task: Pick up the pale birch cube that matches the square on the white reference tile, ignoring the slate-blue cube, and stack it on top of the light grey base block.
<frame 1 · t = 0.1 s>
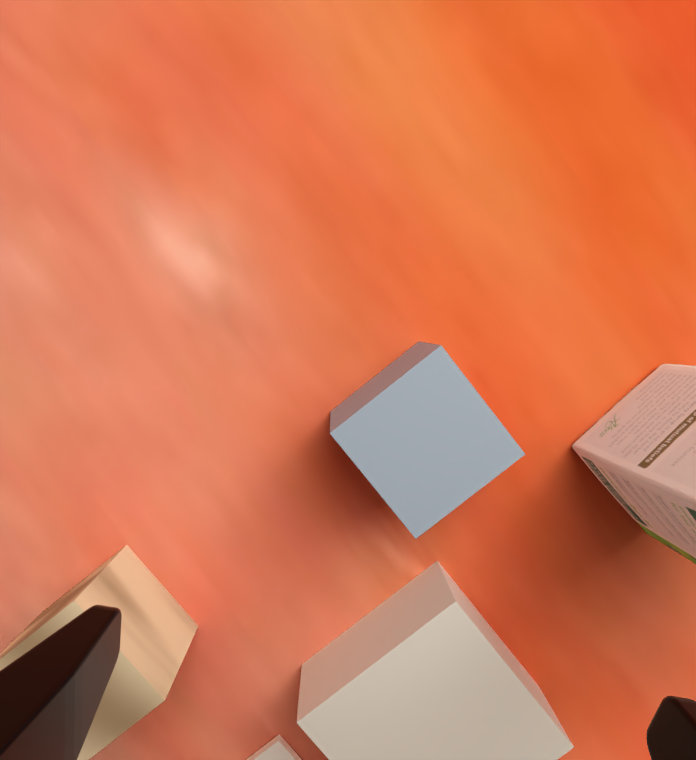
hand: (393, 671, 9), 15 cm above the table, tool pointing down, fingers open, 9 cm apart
base block: (420, 671, 25), on the table
slate-blue cube: (408, 419, 24), on the table
syrup box: (651, 445, 25), on the table
birch cube: (121, 617, 25), on the table
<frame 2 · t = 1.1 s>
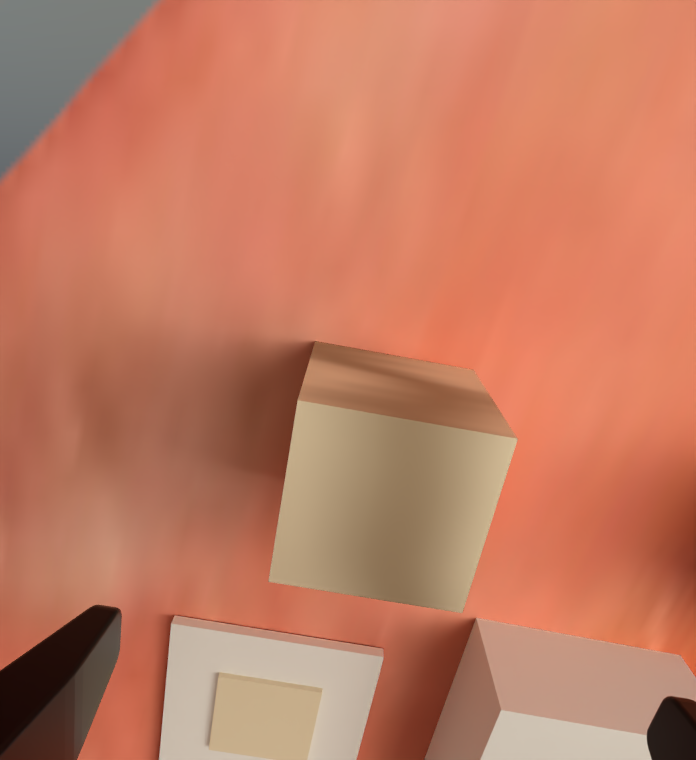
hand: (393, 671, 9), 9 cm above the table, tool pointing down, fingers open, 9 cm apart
base block: (542, 706, 22), on the table
birch cube: (378, 426, 17), on the table
reference tile: (266, 708, 22), on the table
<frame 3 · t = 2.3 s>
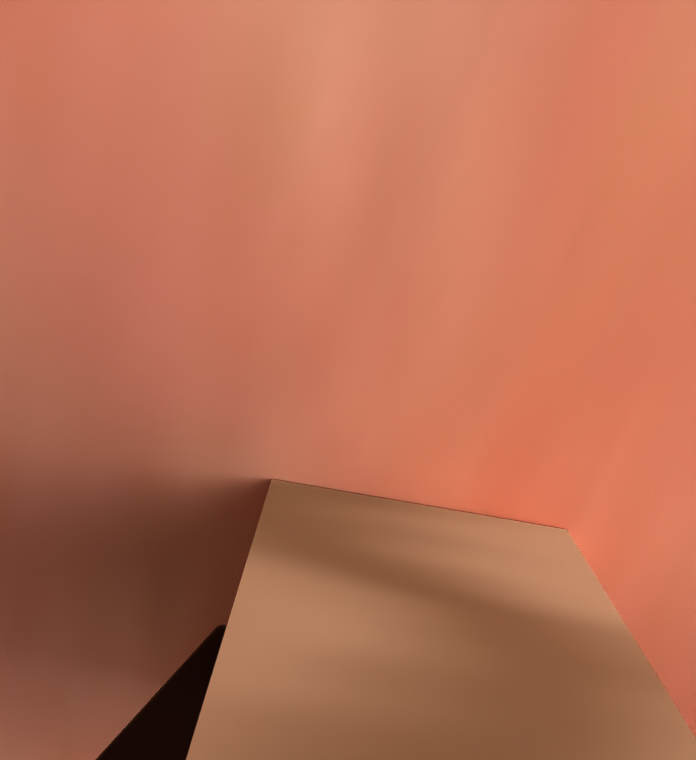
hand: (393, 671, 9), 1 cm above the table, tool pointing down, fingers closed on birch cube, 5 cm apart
birch cube: (389, 621, 10), on the table, touching gripper
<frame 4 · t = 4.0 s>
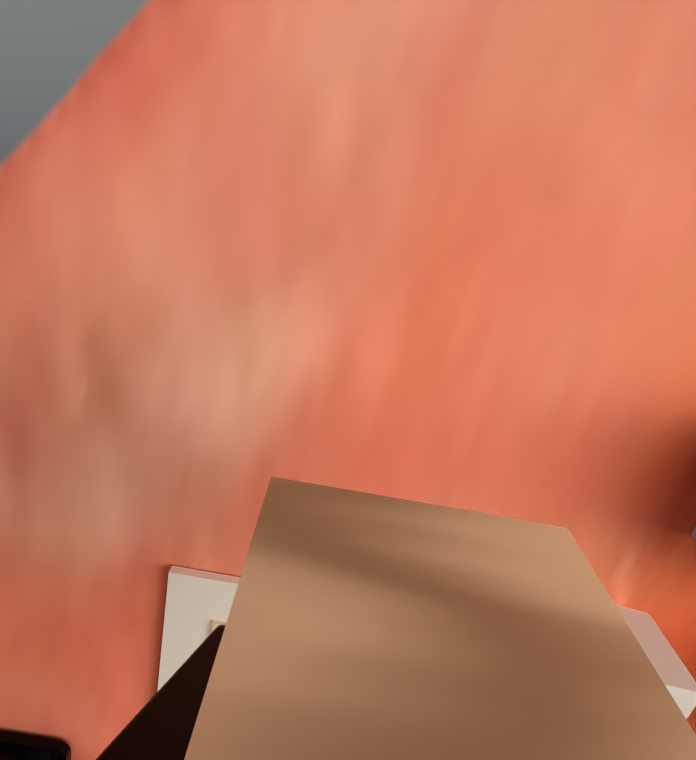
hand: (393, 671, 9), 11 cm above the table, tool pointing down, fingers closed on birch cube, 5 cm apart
base block: (517, 657, 23), on the table
birch cube: (389, 620, 10), point 10 cm above the table, touching gripper
reference tile: (257, 656, 23), on the table
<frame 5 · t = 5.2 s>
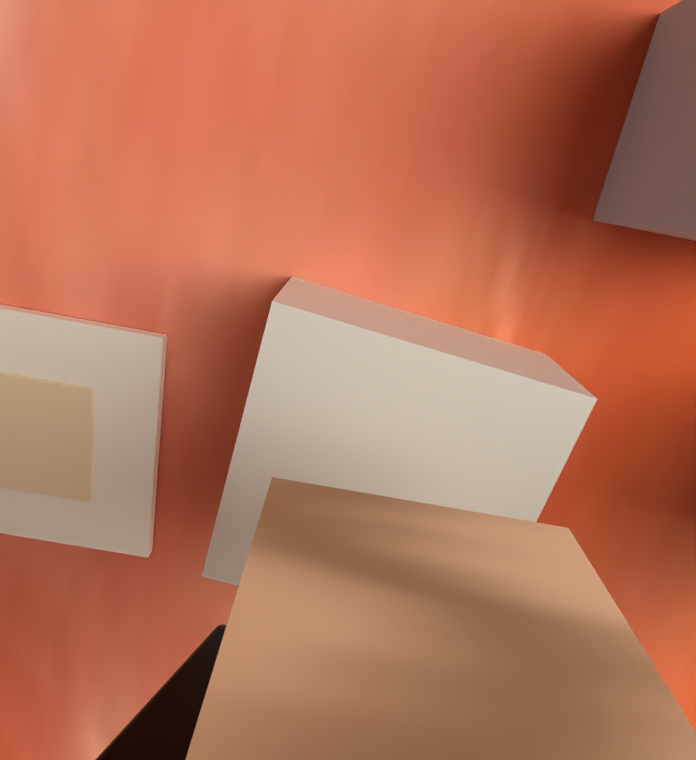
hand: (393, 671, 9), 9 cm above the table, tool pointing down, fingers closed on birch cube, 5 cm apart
base block: (379, 428, 17), on the table
birch cube: (390, 620, 10), point 8 cm above the table, touching gripper
reference tile: (37, 429, 17), on the table
when the fingers open (6 cm above the table, at t = 6.0 s): birch cube drops 1 cm, point 4 cm above the table.
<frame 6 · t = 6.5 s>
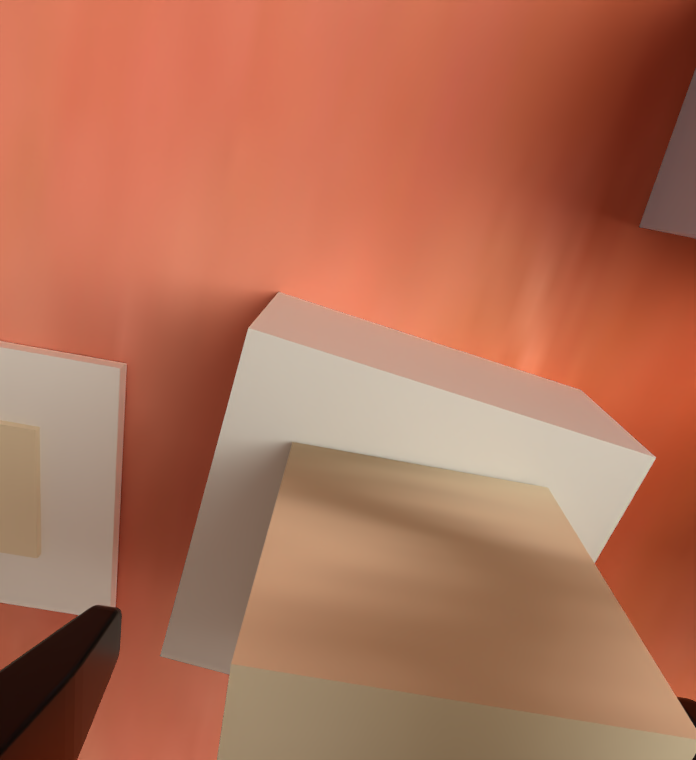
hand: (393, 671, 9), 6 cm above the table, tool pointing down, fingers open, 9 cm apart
base block: (380, 470, 15), on the table
birch cube: (393, 569, 11), point 4 cm above the table
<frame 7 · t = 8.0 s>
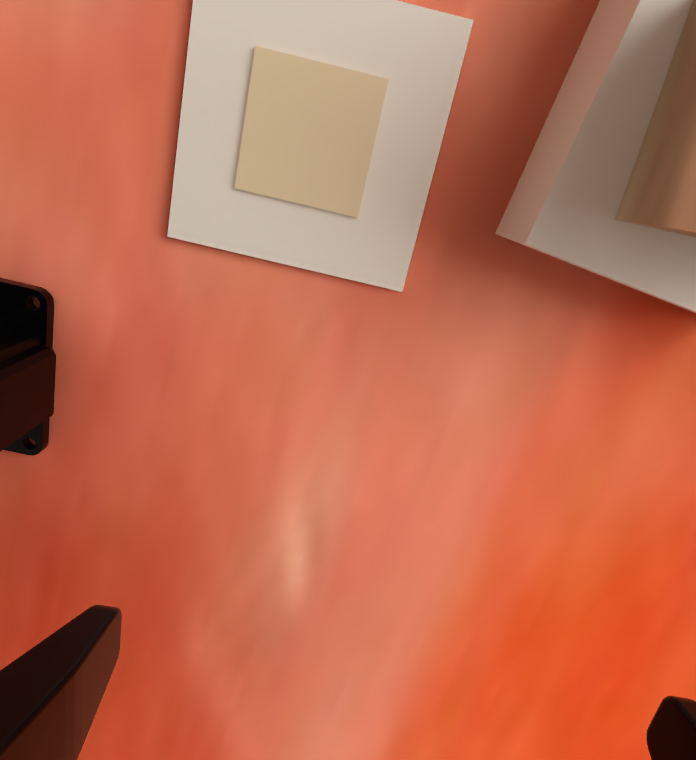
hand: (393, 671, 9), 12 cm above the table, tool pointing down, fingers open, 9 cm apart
base block: (663, 156, 17), on the table
reference tile: (310, 137, 17), on the table
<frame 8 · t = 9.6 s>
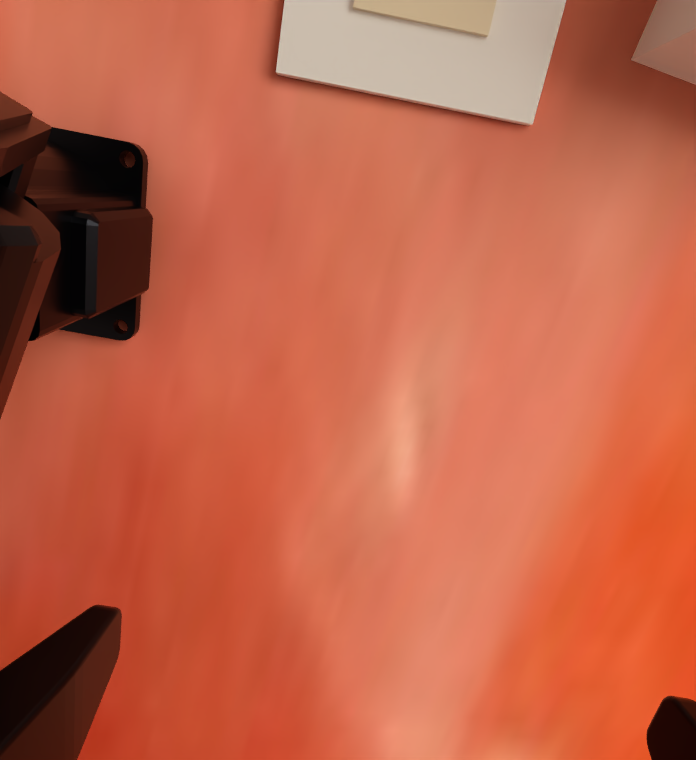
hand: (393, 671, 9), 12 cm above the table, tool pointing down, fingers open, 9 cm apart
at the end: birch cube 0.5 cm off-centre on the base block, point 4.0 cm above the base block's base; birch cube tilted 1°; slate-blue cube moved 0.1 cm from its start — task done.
